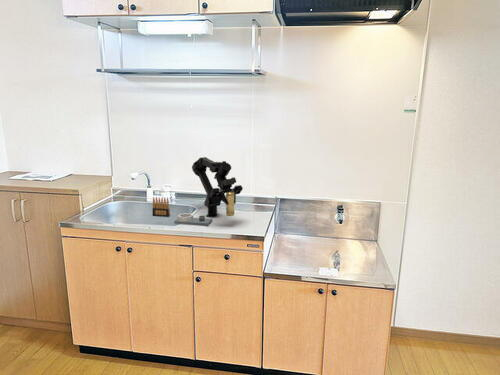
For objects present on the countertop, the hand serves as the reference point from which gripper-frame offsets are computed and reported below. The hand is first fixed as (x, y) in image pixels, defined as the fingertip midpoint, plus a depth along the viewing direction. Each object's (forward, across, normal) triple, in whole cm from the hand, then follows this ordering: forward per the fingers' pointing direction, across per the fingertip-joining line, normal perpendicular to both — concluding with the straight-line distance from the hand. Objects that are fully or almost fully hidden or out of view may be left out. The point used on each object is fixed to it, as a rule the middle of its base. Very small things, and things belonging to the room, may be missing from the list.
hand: (231, 203), depth 206 cm
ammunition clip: (-17, -28, +36) cm, 49 cm away
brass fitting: (+4, 0, +6) cm, 7 cm away
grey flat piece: (-3, -16, +21) cm, 27 cm away
